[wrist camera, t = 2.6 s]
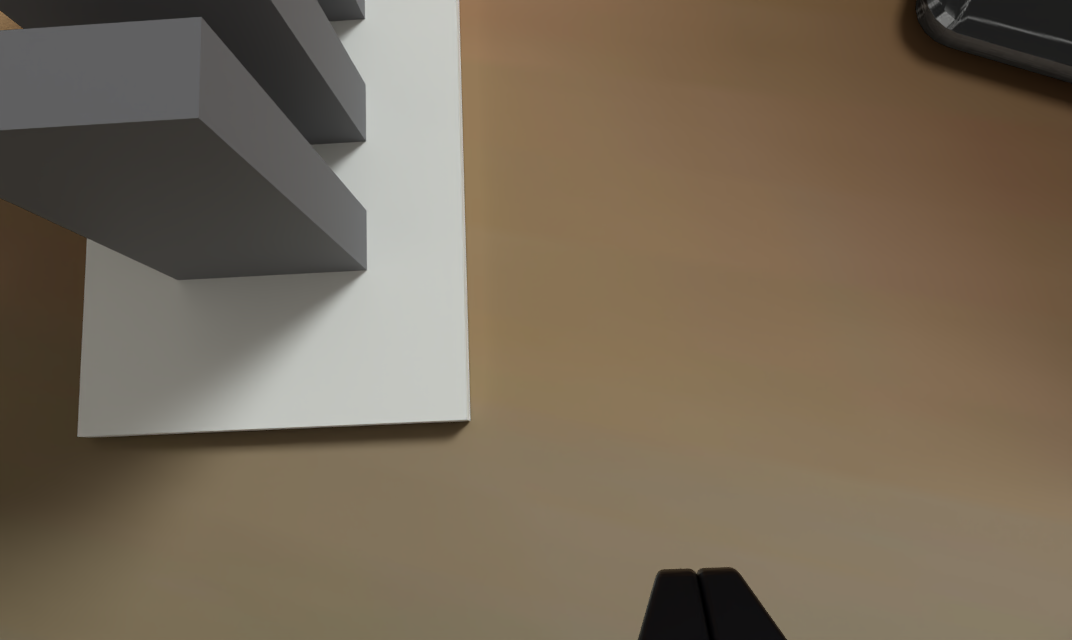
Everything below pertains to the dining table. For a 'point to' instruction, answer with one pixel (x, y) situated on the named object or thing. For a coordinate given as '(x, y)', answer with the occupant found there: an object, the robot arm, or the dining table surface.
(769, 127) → the dining table surface
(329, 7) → the domino
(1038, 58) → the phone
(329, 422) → the white mat
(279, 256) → the domino
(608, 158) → the dining table surface
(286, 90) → the domino
